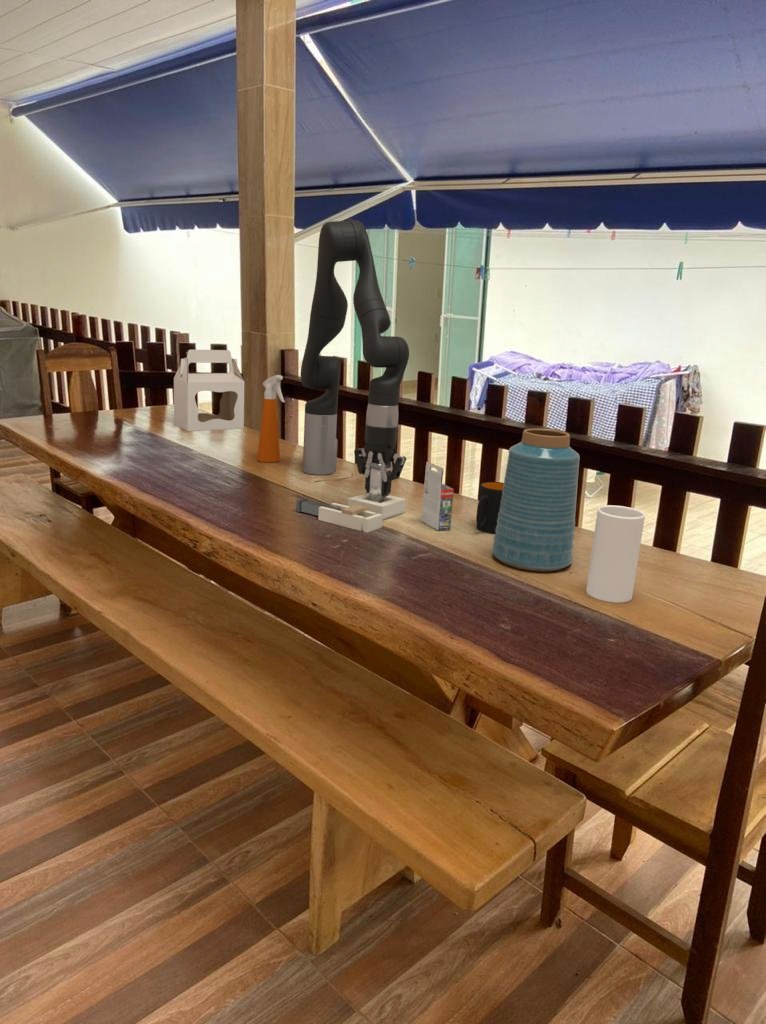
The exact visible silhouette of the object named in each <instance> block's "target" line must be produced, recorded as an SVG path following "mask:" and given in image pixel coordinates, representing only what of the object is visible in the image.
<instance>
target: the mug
mask: <svg viewBox="0 0 766 1024" xmlns="http://www.w3.org/2000/svg"><path fill="white" fill-rule="evenodd" d="M503 486H504V482H501V481H485V482H482V483H480V486H479V497H478V503H477V508H476V516H475V517H476V520H475V521H476V527H475V528H476V529H477V530H478V531H479V532H482V533H486V534H489V535H495V533H496V530H495V529H496V525H497V518H498V512H499V508H500V503H501V496H502V490H503Z"/></svg>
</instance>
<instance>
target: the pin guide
mask: <svg viewBox="0 0 766 1024" xmlns="http://www.w3.org/2000/svg"><path fill="white" fill-rule="evenodd" d="M330 505H331V506H335V507H339V508H340V511H339V510H335V509H331V508H327V507H323V506H321V507H319V516H318V519H317V520H318V521H322V522H325V523H330V524H334V525H336V526H340V527H344V528H348V529H351V530H352V529H353V530H356V531H360V532H361V531H362V532H364V533H366V534H367V533H370V532H373V531H375V530H379V529H381V528H383V521H382V519H383V515H382V514H376V513H374V512H370V511H367V507H365V506H361V505H353V506H348V505H345V504H340V503H337V502H332V503H331V504H330Z"/></svg>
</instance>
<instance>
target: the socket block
mask: <svg viewBox="0 0 766 1024" xmlns="http://www.w3.org/2000/svg"><path fill="white" fill-rule="evenodd" d="M406 502H407V499H406V498H402V497H397V496H393V495H390V494H389V495H388V496H386V497H385V502H382V503H378V502H373V501H369V493H367V492H366V493H361V494H359V495H356V496H352V497H349V498H347V506H353V505H361V506H365V507H367V511H370V512H374V513H376V514H382V515H383V519H382V522H384V521H386V520H389V519H393V518H395V517H397V516H400V515H403V514H406V505H407V504H406Z"/></svg>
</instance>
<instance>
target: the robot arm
mask: <svg viewBox="0 0 766 1024" xmlns="http://www.w3.org/2000/svg"><path fill="white" fill-rule="evenodd" d="M369 238H370V237H369V235H368V232H367V230H366V227H365V225H364V223H363V222H361V221H359V220H356V219H355V220H352V219H351V220H332V221H328V222H325V223H324V224H323V225H322V226H321V229H320V231H319V237H318V245H317V246H318V249H317V250H318V251H317V264H316V277H315V278H316V279H315V285H314V291H313V297H312V303H311V307H310V316H309V323H308V324H309V325H308V334H307V338H306V339H307V340H306V345H305V348H304V352H303V357H302V361H301V366H300V367H301V368H300V382H301V385H302V386H303V387H304V388H306V389H313V390H314V389H317V390H325V392H324V393H323V394H322V395H320V396H319V397H317V398H313V399H311V400H308V401H306V402H305V404H304V419H303V421H304V423H303V424H304V427H303V450H302V451H303V453H302V472H303V473H306V474H308V475H309V474H311V475H317V476H318V475H320V476H323V475H325V476H326V475H332V474H334V473H335V472H336V471H337V463H338V462H337V461H338V458H337V457H338V443H339V441H338V438H337V425H338V424H337V421H338V406H339V405H338V403H339V389H340V381H341V380H340V379H341V362H340V359H339V358H338V357H337V356H332V355H320V354H321V353H322V350H323V349H324V348H325V347H327V346H328V345H329V344H330V343H331V342H332V341H333V340H334V339H335V338H336V337H337V336H338V335H339V334H340V333H341V331H342V330H343V328H344V326H345V324H346V317H347V314H348V308H349V306H348V305H349V304H348V299H347V297H346V294H345V292H344V290H343V288H342V287H341V285H340V284H339V282H338V280H337V278H336V275H335V267H336V264H337V263H339V262H340V263H342V262H353V261H354V262H356V263H357V266H358V269H359V271H358V272H359V273H358V279H357V282H356V285H355V288H354V292H353V298H352V299H353V300H352V301H353V302H352V303H353V309H354V312H355V314H356V317H357V320H358V322H359V325H360V328H361V329H360V330H361V340H362V356H363V359H364V360H365V362H366V363H367V364H368V365H369V366H370V367H372V368H375V369H376V368H382V369H383V368H385V370H384V372H383V374H381V375H380V376H378V377H374V378H372V379H371V380H370V382H369V384H368V385H369V386H368V398H367V399H368V400H367V402H368V403H367V409H366V417H365V433H364V434H365V435H364V441H365V445H364V447H363V448H362V447H361V448H356V449H354V458H355V462H356V467H357V471H358V474H360V475H363V476H364V477H365V479H364V480H365V481H364V483H365V485H364V489H365V492H366V493H369V486H370V469H371V467H370V462H374V463H379V464H381V469H380V471H381V472H382V476H383V481H382V496H383V497H386V496H388V495H390V494H391V493H392V481H395V480H398V479H400V476H401V474H402V472H403V469H404V467H405V463H406V461H407V457H406V456H401V455H399V454H398V452H397V449H396V445H397V441H398V428H399V427H398V426H399V397H400V387H401V383H402V381H403V378H404V375H405V371H406V369H407V365H408V362H409V359H410V349H409V345H408V342H407V341H406V340H405V339H404V338H403V337H401V336H392V335H391V336H388V335H387V336H386V335H381V334H384V333H385V332H387V331H388V330H389V328H390V327H391V322H392V321H391V317H390V314H389V311H388V309H387V306H386V304H385V301H384V298H383V296H382V293H381V289H380V285H379V282H378V277H377V276H378V275H377V272H376V271H377V270H376V265H375V260H374V256H373V252H372V251H373V250H372V245H371V242H370V239H369ZM366 458H367V459H366ZM386 465H389V467H388V468H386V467H385V466H386Z"/></svg>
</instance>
